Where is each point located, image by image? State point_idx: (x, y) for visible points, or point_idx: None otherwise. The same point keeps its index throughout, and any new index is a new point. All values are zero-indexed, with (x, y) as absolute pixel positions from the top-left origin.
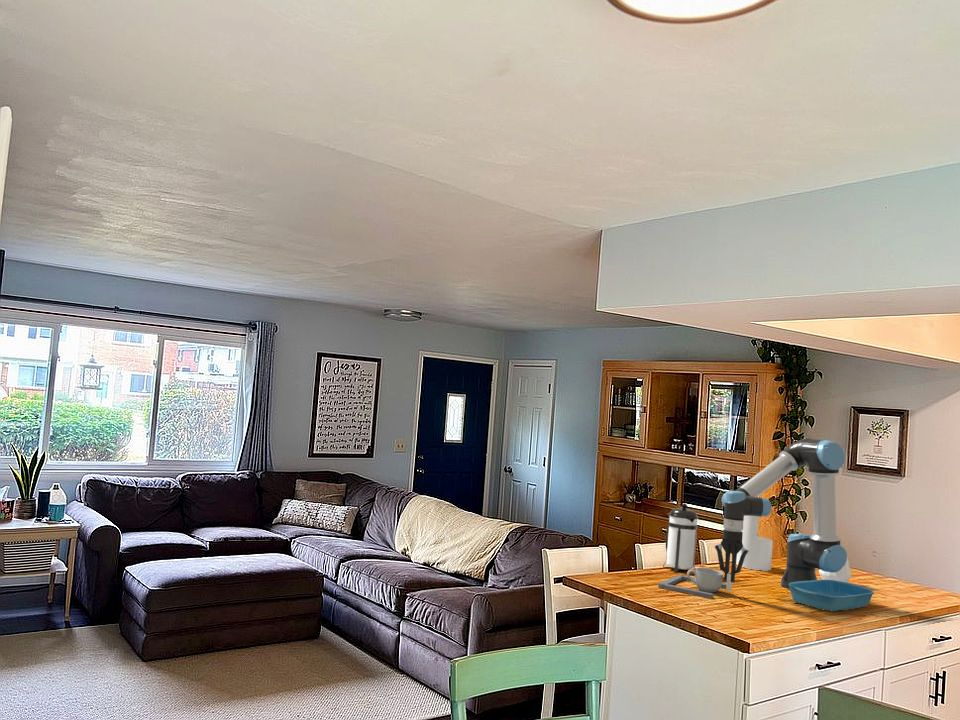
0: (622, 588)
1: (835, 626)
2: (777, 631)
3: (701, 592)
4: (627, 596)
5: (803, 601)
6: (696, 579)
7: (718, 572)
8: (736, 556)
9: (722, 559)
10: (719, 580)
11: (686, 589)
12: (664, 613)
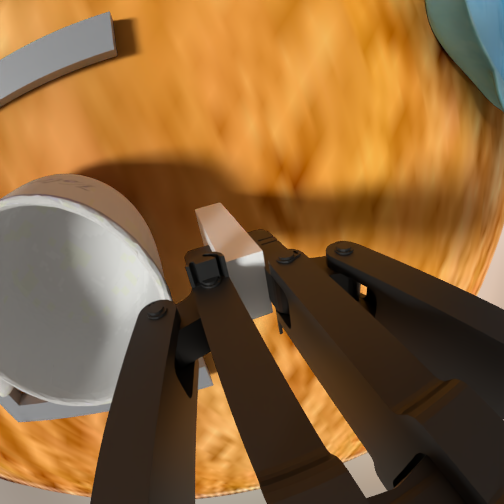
0: (44, 470)
1: (494, 250)
2: None
3: None
4: None
5: (469, 76)
6: (40, 349)
7: (58, 205)
8: (437, 392)
9: (176, 436)
10: None
11: (105, 410)
12: (236, 493)
